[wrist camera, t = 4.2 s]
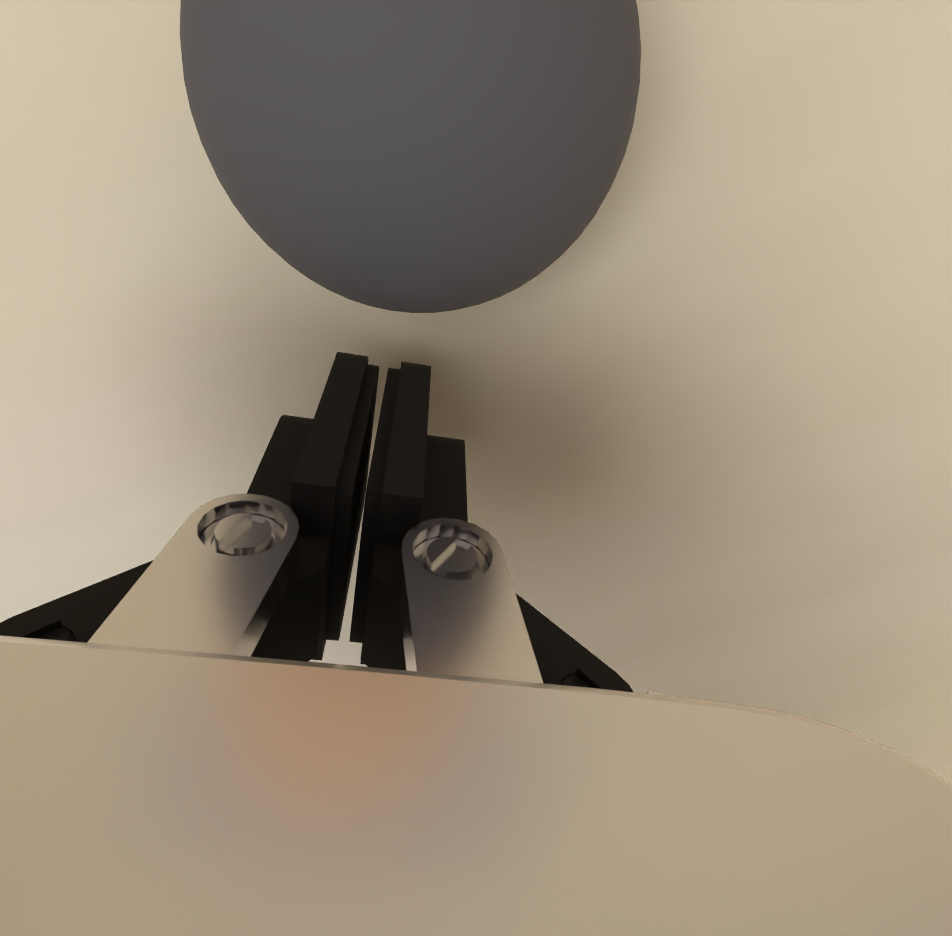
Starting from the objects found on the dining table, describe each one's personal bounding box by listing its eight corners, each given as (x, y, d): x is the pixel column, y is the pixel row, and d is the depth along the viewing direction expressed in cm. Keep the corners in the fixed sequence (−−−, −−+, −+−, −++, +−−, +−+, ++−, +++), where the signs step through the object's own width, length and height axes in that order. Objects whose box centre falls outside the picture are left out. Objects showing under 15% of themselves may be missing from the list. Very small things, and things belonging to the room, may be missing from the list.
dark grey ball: (706, 333, 7) (637, 138, 11) (629, -423, 4) (560, -343, 7) (303, 435, 9) (358, 234, 12) (-66, -13, 5) (168, -120, 9)
